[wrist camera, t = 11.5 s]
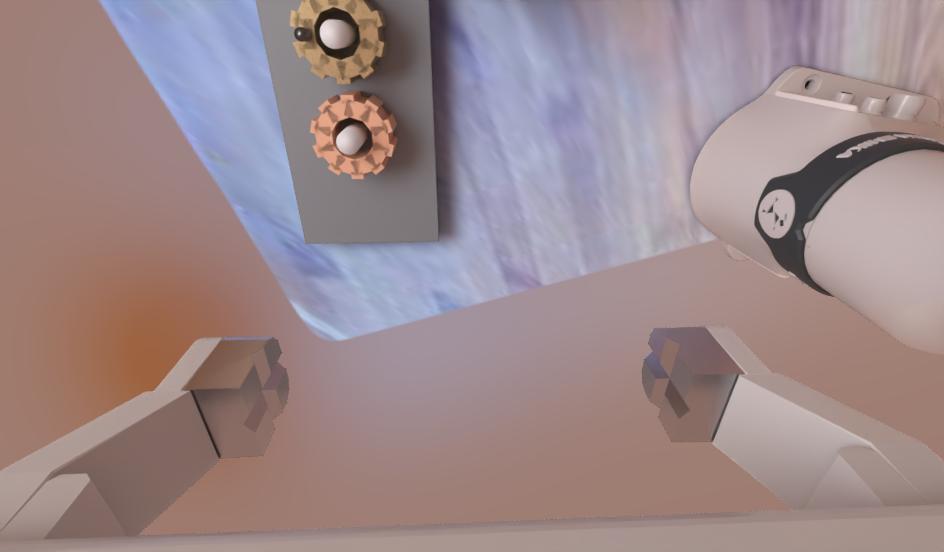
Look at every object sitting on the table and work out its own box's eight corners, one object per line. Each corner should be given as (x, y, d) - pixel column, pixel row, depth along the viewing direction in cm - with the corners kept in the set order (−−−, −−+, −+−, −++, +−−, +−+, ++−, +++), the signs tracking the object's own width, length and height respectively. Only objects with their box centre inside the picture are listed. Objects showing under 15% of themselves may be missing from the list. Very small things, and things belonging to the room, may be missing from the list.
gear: (384, -17, 33) (375, -23, 29) (392, 79, 36) (385, 85, 32) (294, -17, 33) (274, -23, 29) (311, 80, 36) (294, 85, 32)
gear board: (428, -25, 34) (423, -36, 29) (439, 233, 45) (437, 262, 40) (260, -26, 34) (221, -37, 28) (311, 235, 45) (291, 265, 39)
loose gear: (394, 89, 37) (389, 94, 34) (400, 168, 40) (396, 178, 37) (314, 90, 36) (303, 95, 34) (327, 169, 40) (318, 179, 37)
